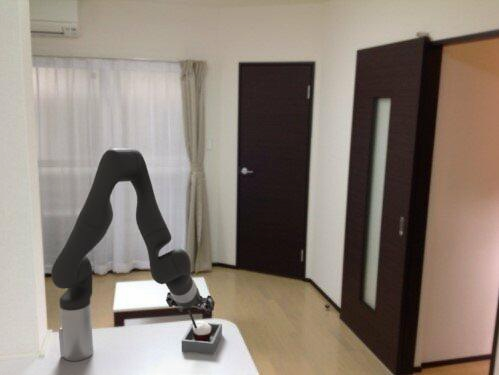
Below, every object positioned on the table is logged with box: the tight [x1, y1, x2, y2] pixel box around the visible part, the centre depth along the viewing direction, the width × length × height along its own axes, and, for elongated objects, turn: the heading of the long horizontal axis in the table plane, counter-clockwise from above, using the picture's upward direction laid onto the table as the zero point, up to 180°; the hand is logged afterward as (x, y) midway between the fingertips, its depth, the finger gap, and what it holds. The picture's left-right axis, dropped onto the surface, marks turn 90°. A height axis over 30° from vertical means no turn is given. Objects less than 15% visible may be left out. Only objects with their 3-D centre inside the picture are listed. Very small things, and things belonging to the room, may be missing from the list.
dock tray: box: [181, 321, 223, 356], centre depth 161 cm, size 11×14×4 cm
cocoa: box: [187, 309, 214, 342], centre depth 160 cm, size 10×6×12 cm, turn 102°
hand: (194, 309), depth 150 cm, fingers open, 8 cm apart
